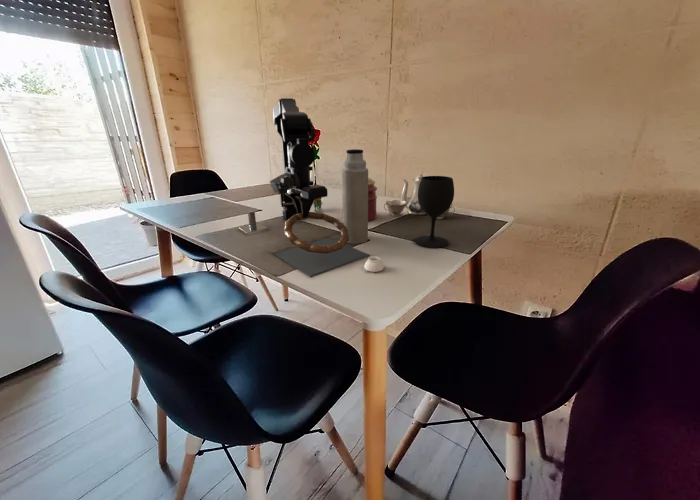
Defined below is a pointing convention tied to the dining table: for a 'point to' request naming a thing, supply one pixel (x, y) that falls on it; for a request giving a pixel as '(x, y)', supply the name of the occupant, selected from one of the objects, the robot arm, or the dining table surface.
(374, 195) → the kitchen canister
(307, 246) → the ring
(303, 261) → the mat
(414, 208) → the chinaware
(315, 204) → the figurine
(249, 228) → the metal peg stand
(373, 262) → the white jar
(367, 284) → the dining table surface
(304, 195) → the robot arm
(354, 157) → the thermos bottle
